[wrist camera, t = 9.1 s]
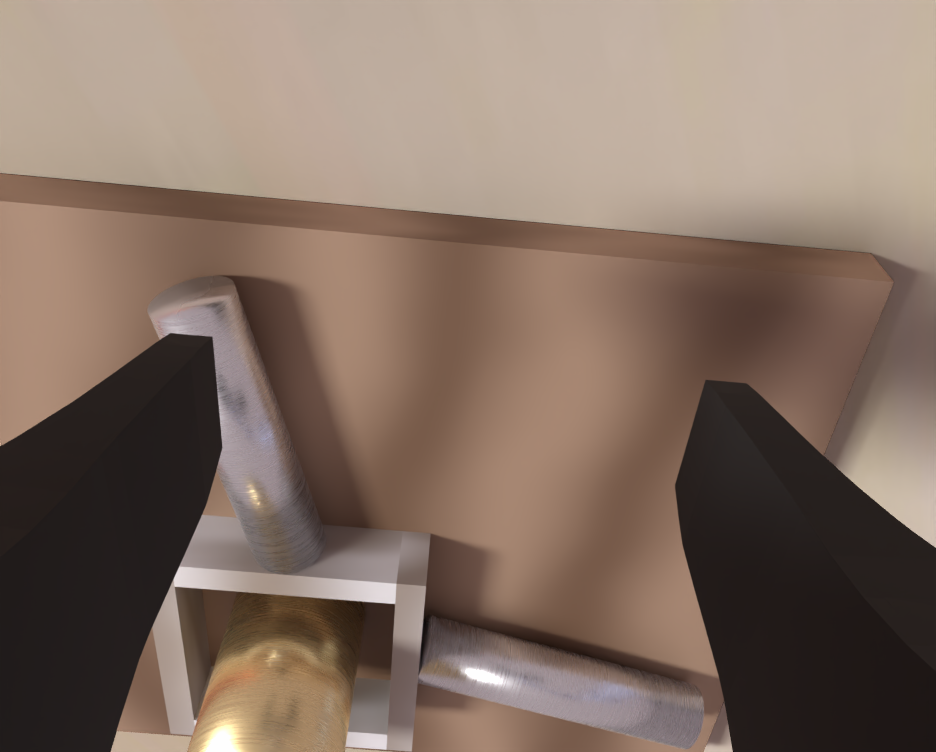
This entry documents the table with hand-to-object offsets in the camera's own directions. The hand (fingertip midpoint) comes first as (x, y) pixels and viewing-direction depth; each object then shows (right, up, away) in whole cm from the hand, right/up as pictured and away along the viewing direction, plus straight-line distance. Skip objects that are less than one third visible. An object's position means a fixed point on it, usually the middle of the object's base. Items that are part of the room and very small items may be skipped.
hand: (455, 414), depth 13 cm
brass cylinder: (-5, -7, +14) cm, 16 cm away
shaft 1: (-5, 0, +10) cm, 11 cm away
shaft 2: (+3, -8, +15) cm, 18 cm away
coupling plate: (-2, -4, +14) cm, 15 cm away
